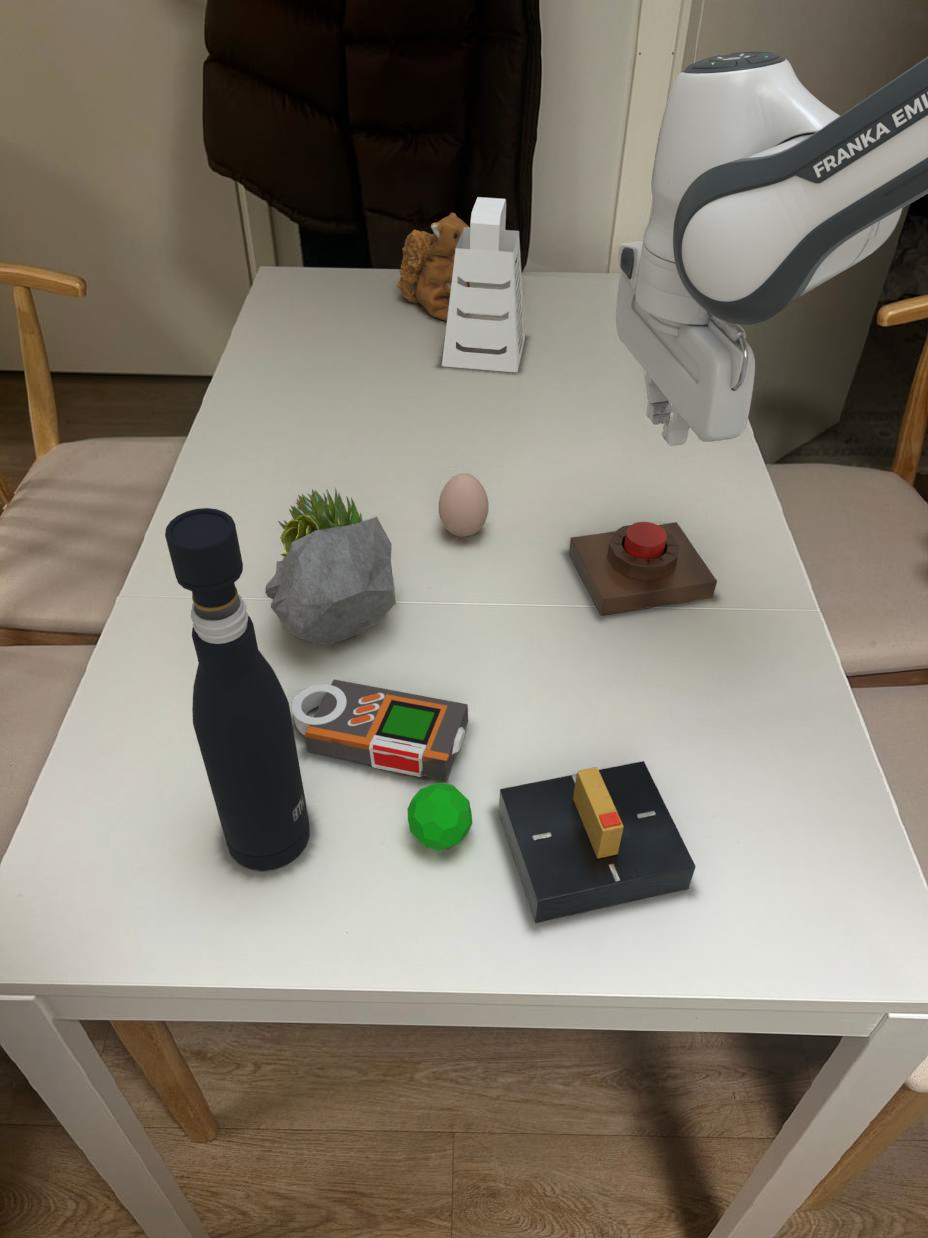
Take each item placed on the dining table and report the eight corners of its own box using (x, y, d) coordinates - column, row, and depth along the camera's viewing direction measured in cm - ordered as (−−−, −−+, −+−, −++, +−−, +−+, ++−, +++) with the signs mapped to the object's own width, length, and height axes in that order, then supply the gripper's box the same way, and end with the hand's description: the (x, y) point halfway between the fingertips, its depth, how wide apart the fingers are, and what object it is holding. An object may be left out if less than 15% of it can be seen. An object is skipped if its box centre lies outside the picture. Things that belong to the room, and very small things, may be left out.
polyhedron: (407, 809, 75) (406, 772, 71) (469, 806, 75) (470, 769, 72) (409, 863, 71) (407, 827, 68) (473, 860, 71) (475, 823, 68)
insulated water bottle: (222, 812, 74) (137, 504, 54) (302, 793, 76) (249, 486, 55) (232, 881, 70) (144, 572, 49) (317, 859, 71) (265, 551, 51)
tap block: (638, 783, 77) (644, 759, 75) (688, 889, 70) (696, 865, 68) (498, 811, 75) (499, 787, 72) (535, 923, 68) (538, 900, 65)
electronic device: (307, 671, 82) (471, 702, 79) (312, 694, 84) (472, 725, 81) (276, 727, 78) (448, 762, 74) (281, 750, 80) (450, 785, 76)
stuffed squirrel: (459, 326, 138) (460, 235, 129) (380, 303, 143) (376, 215, 134) (493, 302, 144) (496, 214, 135) (416, 281, 149) (415, 195, 140)
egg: (443, 550, 99) (443, 493, 94) (434, 520, 103) (434, 464, 98) (492, 545, 100) (494, 487, 95) (481, 515, 104) (483, 459, 99)
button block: (673, 537, 101) (679, 507, 98) (713, 597, 94) (721, 566, 91) (568, 553, 99) (571, 523, 96) (600, 615, 92) (605, 585, 89)
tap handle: (572, 798, 72) (577, 768, 69) (592, 794, 72) (597, 764, 70) (597, 859, 68) (603, 829, 65) (617, 854, 68) (624, 824, 66)
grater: (525, 337, 135) (533, 193, 122) (517, 372, 128) (526, 223, 114) (453, 332, 136) (454, 188, 123) (441, 366, 129) (441, 217, 115)
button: (654, 532, 96) (657, 519, 95) (670, 556, 93) (673, 542, 92) (618, 538, 95) (620, 524, 94) (632, 562, 92) (635, 548, 91)
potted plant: (261, 655, 82) (209, 528, 89) (359, 668, 93) (306, 554, 99) (349, 569, 78) (287, 442, 84) (442, 593, 88) (380, 478, 94)
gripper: (790, 335, 69) (749, 490, 78) (678, 232, 83) (654, 374, 93) (711, 343, 67) (679, 500, 77) (611, 238, 82) (594, 380, 91)
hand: (665, 430), depth 85 cm, fingers closed
